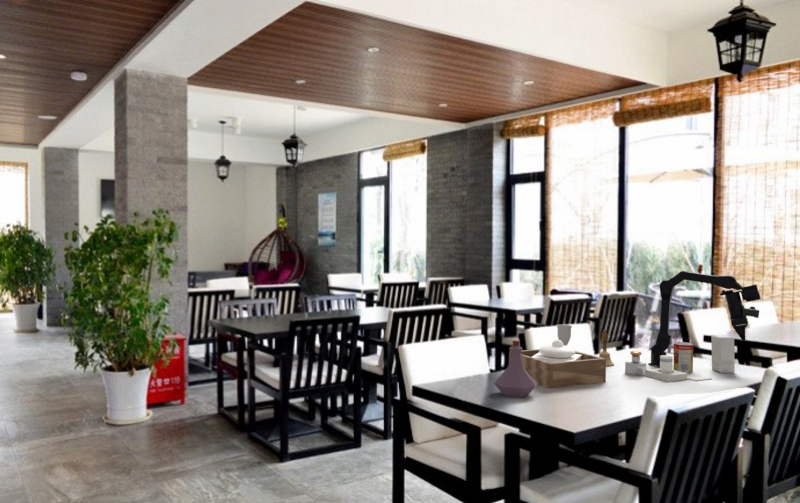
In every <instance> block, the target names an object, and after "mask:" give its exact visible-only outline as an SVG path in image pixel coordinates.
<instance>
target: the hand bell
mask: <svg viewBox="0 0 800 503" xmlns="http://www.w3.org/2000/svg"><path fill="white" fill-rule="evenodd" d="M608 339H609V337H608V333H607V330H606V329H603V331H602V332H601V342H602V351H601V352H599V356H598V357H601V358H605V359H606V367H613V366H615V363H614V362H613V361H612V358H611V355H610V354H611V353H610V352H609V351H607V350H608V349H607V343H608Z"/></svg>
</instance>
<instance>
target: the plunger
mask: <svg viewBox="0 0 800 503" xmlns="http://www.w3.org/2000/svg"><path fill="white" fill-rule="evenodd" d="M629 353H630V355H631V361H632V363H635V364H637V363H640V362H641V356H642V352H641V351H639V350H638V351H637V350H633V351H632V350H631V351H630V352H629Z"/></svg>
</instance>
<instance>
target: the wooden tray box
mask: <svg viewBox="0 0 800 503" xmlns="http://www.w3.org/2000/svg"><path fill="white" fill-rule="evenodd" d="M539 349H540V348H538V349H537V348H536V349H527V350H526V349H524V350H523V349H522V351H521V359H522V363H523V367H524V368H525V370H526V371H527V372H528V374H529V375H530V376H531V377H532V378H533V379H534V380H535V381H536V382H537V384H536V385H539V386H543V387H546V388H548V389H554V388H563V387H572V386H580V385H581V386H582V385H583V386H584V385H589V384H601V383H606V380H607V366H606V359H605V358H601V357H599V356H596V355H594V354H588V353H584V352H581V351H577V350H575V352H576V353H575V354H580V355H582V357H581V360H577V361H566V362H555V363H550V362H546V361H543V360H539V359H536V358H533V357H532V356H534V355H535V354H537V353H539ZM510 358H511V351H510V350H509V351H508V362H509V361H510Z"/></svg>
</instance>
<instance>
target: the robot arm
mask: <svg viewBox="0 0 800 503" xmlns="http://www.w3.org/2000/svg"><path fill="white" fill-rule="evenodd" d="M683 281H691V282H697V283H704V284H710V285H714V286H717V287H720V288H723V289H721V292H720V294H719V295H720V296H725V301H726V305H727V309H728V313H729V317H730V323H731V327H732V328H733V329H734V331H735V332H736V334H737V335H738V336H739V338H740V339H741V341H742V342H743V341H746V328H747V326H748V325H749V321H748V318H747V317H752V318H755V319H759V316H760V310H759V309H756V306H750V307H748V308H747V307H744V305H743V302H742V301H745V302H746V303H749V302H753V301H755V302H756V301H761V300H762V299H761V298H762V297H761V294H760V291H759V289H758V286H757V285H758V284H756V283H755V284H752V285H745V286H743V285H742V284H740V283H738V280H737V279H736V277H735V276H733V275H727V274H725V275H711V274H705V273H698V272H693V271H692V272H690V271H686V270H682V271H680V272H679V273H678V274H675V275H674V276H673V277H671V278H669V279H665V280H662V281H661V282H660V284H659V293H660V298H661V304H660V305H661V306H660V321H659V331H658V333H657V337H656V341H655V344H654V345H653V346H652V347H651V348H650V362H649V363H648V365H650V366H654V367H658V368H660V356H661V355H667V354H668V353H667V352H666V350H667V349H669V348H670V347H671V345H672V344H674V341H673V336H674V334H673V333H671V332H670V322H671V321H670V320H671V307H672V306H671V304H672V298H673V295H674V292H675V287H676V286H678V285H680V283H682V282H683ZM725 289H726V290H725ZM733 289H734V290H736V291H734V290H733Z"/></svg>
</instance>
